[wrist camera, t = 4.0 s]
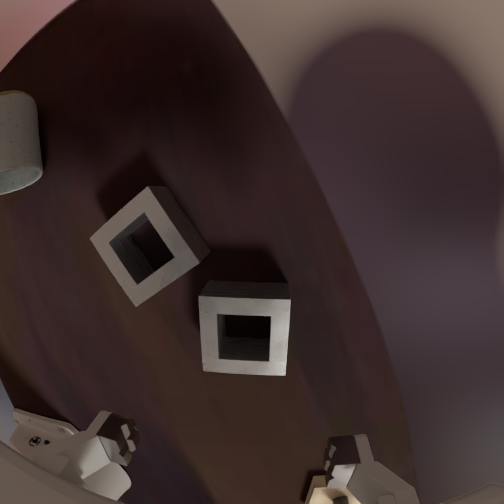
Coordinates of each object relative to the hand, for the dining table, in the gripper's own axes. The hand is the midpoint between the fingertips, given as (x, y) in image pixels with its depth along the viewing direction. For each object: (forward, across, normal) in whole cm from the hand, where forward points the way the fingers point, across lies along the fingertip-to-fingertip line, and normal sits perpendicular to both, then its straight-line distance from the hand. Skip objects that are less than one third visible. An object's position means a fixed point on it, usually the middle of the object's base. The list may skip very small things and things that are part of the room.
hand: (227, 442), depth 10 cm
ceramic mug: (+13, -24, +14) cm, 31 cm away
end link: (+13, 0, 0) cm, 13 cm away
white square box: (+13, -7, +6) cm, 16 cm away
